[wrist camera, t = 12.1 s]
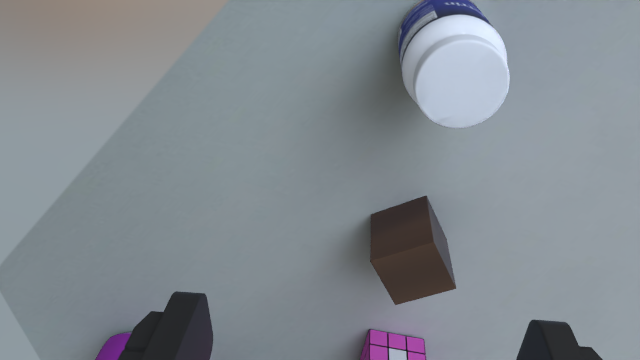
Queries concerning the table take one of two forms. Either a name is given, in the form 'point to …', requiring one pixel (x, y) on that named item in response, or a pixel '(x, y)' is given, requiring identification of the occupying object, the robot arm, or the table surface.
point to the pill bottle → (452, 62)
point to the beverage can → (113, 347)
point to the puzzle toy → (392, 347)
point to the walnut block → (410, 251)
